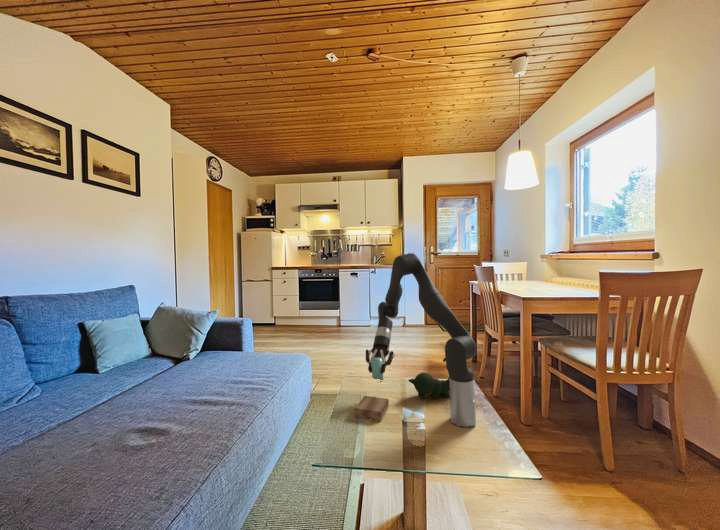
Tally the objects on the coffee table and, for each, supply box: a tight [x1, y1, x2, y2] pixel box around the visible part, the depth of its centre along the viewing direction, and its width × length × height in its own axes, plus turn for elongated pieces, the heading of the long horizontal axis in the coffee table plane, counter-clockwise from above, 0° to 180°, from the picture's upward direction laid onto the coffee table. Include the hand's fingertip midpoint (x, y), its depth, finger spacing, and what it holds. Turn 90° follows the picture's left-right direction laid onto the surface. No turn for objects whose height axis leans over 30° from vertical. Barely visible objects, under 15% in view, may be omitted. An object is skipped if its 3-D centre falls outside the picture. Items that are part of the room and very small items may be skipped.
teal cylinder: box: [370, 356, 384, 383], centre depth 140 cm, size 5×5×10 cm
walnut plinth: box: [354, 395, 390, 422], centre depth 130 cm, size 11×11×4 cm
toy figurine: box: [407, 357, 450, 399], centre depth 142 cm, size 9×19×25 cm
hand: (376, 372), depth 138 cm, fingers closed on teal cylinder, 5 cm apart
